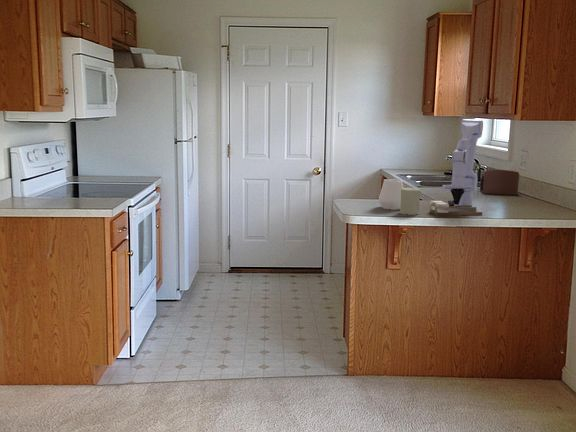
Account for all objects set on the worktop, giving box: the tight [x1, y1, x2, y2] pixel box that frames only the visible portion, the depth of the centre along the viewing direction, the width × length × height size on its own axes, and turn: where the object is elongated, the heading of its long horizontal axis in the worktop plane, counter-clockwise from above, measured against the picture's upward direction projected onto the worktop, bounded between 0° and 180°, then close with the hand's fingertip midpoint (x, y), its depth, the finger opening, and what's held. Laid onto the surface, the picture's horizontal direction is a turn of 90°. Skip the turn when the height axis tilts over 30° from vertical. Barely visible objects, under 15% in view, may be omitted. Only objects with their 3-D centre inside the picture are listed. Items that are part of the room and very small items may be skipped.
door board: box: [429, 200, 483, 217], centre depth 307 cm, size 10×22×6 cm, turn 100°
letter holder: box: [479, 169, 520, 196], centre depth 376 cm, size 10×20×14 cm, turn 82°
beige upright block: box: [399, 187, 421, 216], centre depth 305 cm, size 9×9×12 cm
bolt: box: [433, 199, 455, 211], centre depth 306 cm, size 3×10×4 cm, turn 100°
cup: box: [378, 178, 404, 211], centre depth 318 cm, size 13×13×14 cm
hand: (456, 204), depth 307 cm, fingers closed
